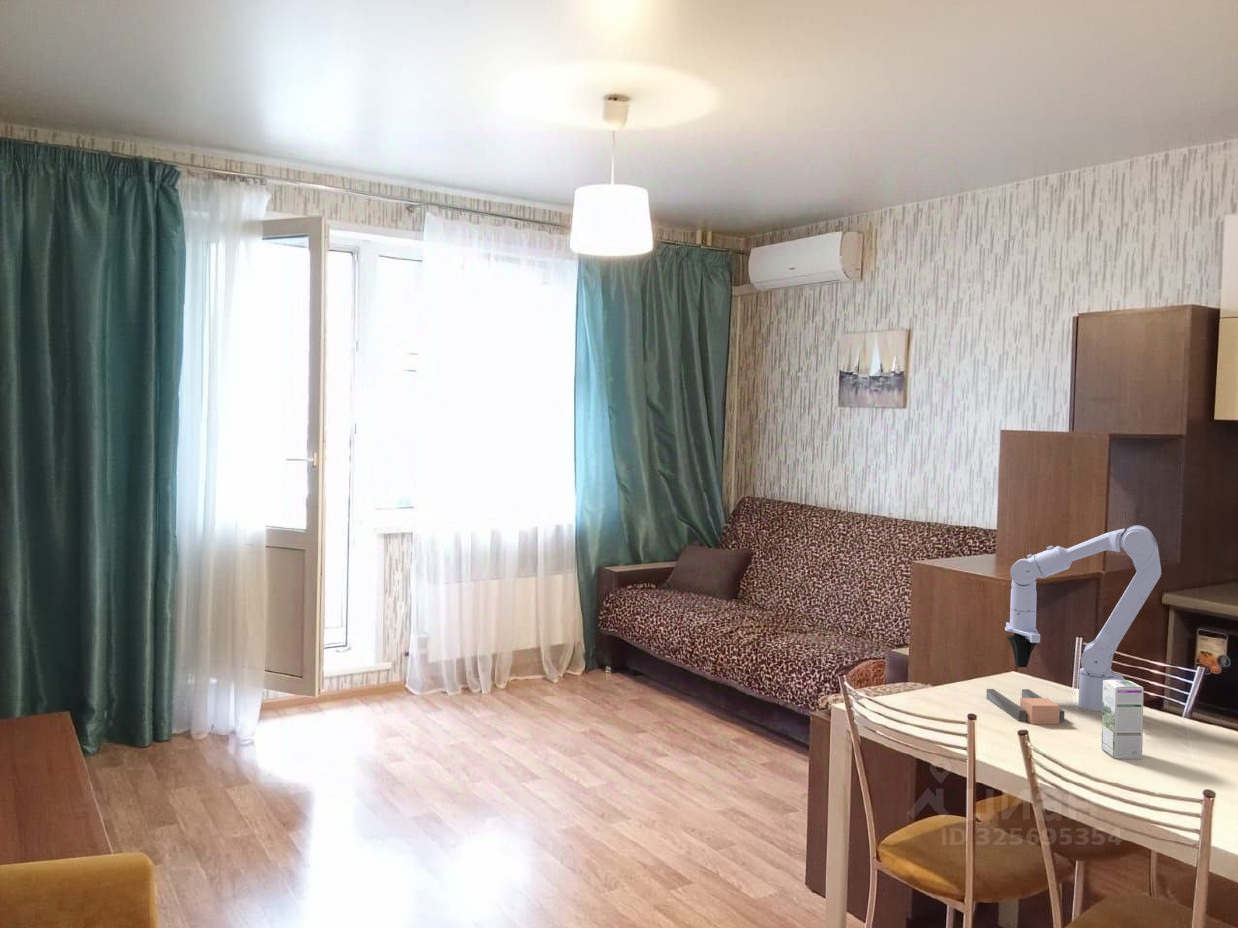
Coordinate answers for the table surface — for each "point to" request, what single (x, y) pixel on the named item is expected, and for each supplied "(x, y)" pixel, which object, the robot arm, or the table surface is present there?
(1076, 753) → the table surface
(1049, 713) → the terracotta block
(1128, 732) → the syrup box
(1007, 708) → the grey parallel rails
